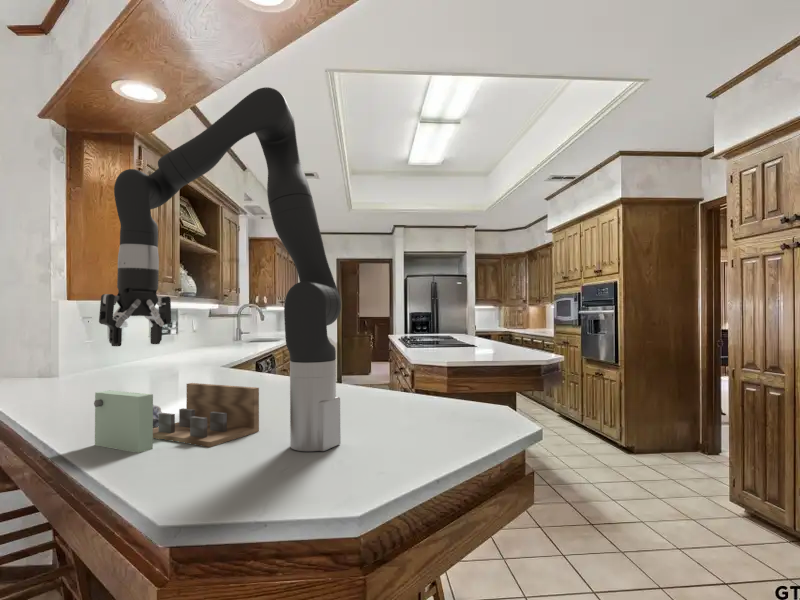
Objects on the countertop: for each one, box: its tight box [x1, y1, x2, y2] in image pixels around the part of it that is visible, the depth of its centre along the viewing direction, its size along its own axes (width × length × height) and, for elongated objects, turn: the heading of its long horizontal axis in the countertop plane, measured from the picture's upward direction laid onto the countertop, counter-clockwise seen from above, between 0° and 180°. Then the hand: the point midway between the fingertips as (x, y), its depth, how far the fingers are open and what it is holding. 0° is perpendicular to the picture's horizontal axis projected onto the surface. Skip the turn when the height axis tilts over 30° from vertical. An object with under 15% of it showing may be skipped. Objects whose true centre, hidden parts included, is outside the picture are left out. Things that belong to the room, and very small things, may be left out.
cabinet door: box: [93, 390, 154, 454], centre depth 95 cm, size 14×4×11 cm, turn 64°
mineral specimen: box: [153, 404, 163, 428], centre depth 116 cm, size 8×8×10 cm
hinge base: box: [153, 382, 260, 448], centre depth 106 cm, size 22×14×10 cm, turn 64°
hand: (136, 345), depth 97 cm, fingers open, 8 cm apart
